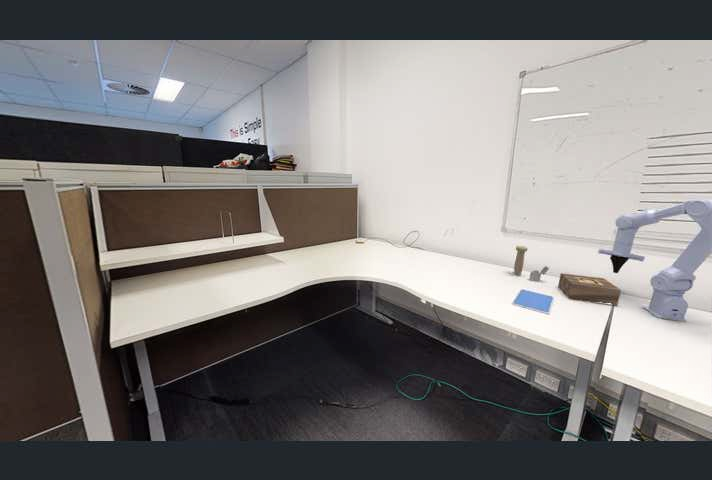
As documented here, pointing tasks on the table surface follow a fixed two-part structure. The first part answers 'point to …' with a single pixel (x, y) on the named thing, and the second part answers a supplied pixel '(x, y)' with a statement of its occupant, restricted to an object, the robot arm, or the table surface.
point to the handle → (519, 259)
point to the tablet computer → (534, 301)
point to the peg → (588, 281)
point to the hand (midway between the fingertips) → (615, 272)
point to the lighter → (538, 274)
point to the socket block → (589, 289)
